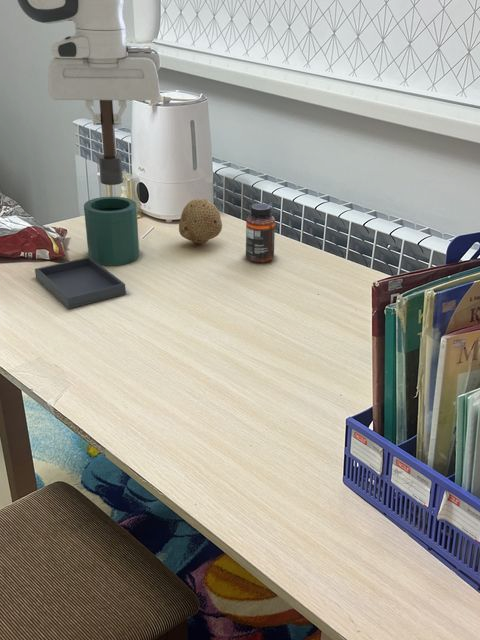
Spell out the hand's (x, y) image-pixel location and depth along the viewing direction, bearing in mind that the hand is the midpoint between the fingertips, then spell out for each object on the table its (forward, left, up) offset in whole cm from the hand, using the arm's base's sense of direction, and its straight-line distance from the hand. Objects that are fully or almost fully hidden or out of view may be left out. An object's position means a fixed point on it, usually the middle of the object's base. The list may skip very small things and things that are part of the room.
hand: (107, 124), depth 132 cm
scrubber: (0, 0, -11) cm, 11 cm away
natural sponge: (+5, +18, -26) cm, 32 cm away
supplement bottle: (+18, +24, -26) cm, 40 cm away
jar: (+1, -1, -26) cm, 26 cm away
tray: (+11, -13, -26) cm, 31 cm away
